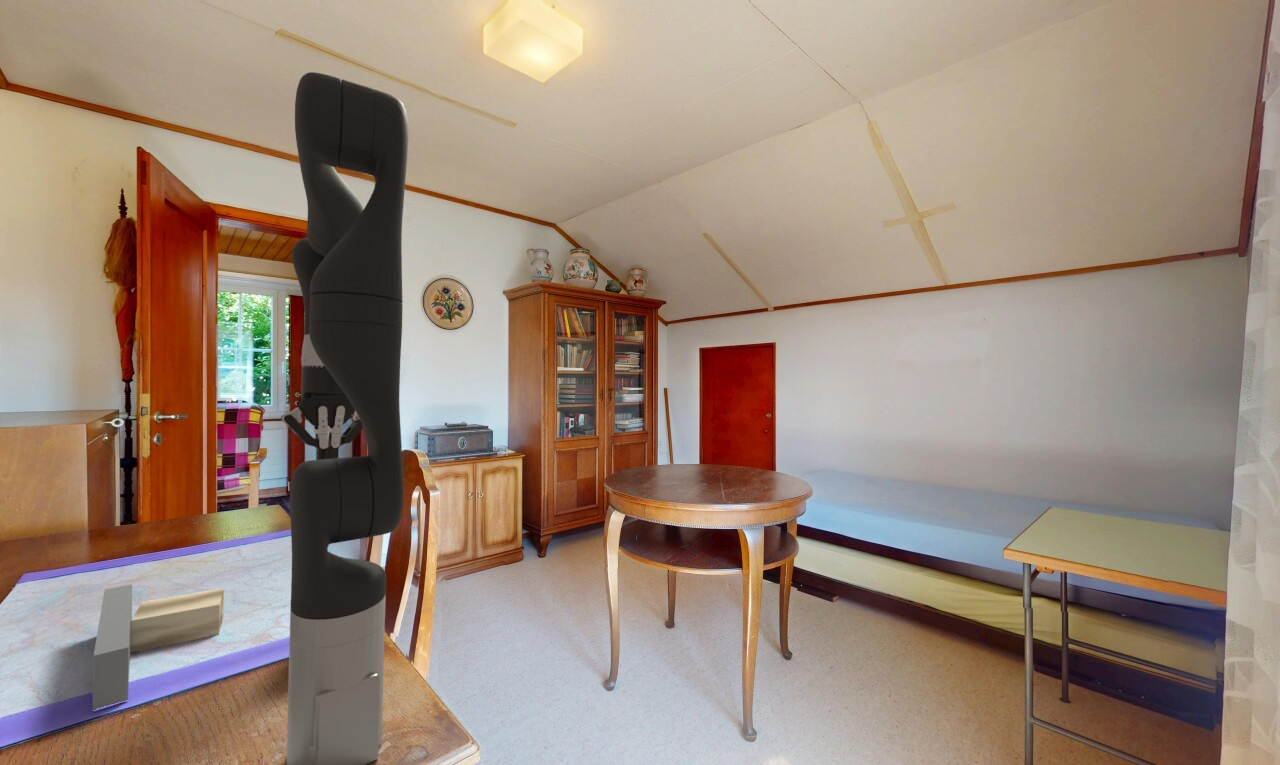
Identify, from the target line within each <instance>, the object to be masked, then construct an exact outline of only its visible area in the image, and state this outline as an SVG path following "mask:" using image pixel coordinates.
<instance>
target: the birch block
mask: <svg viewBox="0 0 1280 765" xmlns="http://www.w3.org/2000/svg"><path fill="white" fill-rule="evenodd" d="M224 607H225V587H221V588H217V589H210V590H203V591H199V592H197V591H196V592H192V593H187V594H179V595H174V596H169V597H161V598H156V599H151V600H149V599H148V600H144V601H141V603H140V605H139V607H138V609H137V610H136V612H135V614H134V615H133V616H132V620H131V646H130V654H132V653H135V652H141V651H145V650H151V649H154V648H159V647H165V646H169V645H174V644H175V645H176V644H179V643H183V642H188V641H193V640H198V639H203V638H208V637H212V636H218V635H220V631H221V628H222V623H223V619H224V613H225V611H224V609H225V608H224Z"/></svg>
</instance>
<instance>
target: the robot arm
mask: <svg viewBox="0 0 1280 765" xmlns="http://www.w3.org/2000/svg"><path fill="white" fill-rule="evenodd" d="M408 120H409V119H408V114H407V111H406V108H405V105H404V103H403V102H402V101H401V100H400V99H399V98H398V97H396V96H394V95H392V94H389V93H387V92H383V91H381V90H378V89H374V88H372V87H368V86H365V85H362V84H360V83H355V82H352V81H348V80H346V79H343V78H342V79H341V78H338V77H336V76H332V75H329V74H325V73H320V72H312V71H311V72H307V73H305V74H303V75H302V77H301V78H300V79H299V81H298V84H297V88H296V94H295V101H294V128H295V129H294V130H295V133H294V134H295V141H296V148H297V154H298V159H299V160H298V161H299V167H300V173H301V177H302V182H303V187H304V190H305V191H304V192H305V195H306V196H305V197H306V203H307V223H306V224H307V225H306V226H307V227H306V235H307V236H306V237H304V238H301V239H300V240H298V241H297V242H296V243H295V244H294V246H293V248H292V251H291V260H292V265H293V268H294V270H295V274H296V277H297V280H298V284H299V287H300V291H301V293H302V300H303V308H304V311H303V312H304V326H303V329H304V330H303V334H304V335H303V342H302V348H301V357H300V362H301V363H300V364H301V385H300V388H301V390H300V391H301V392H300V398H299V400H298V401H297V403H296V407H295V408H294V409H292V410H291V411H290V412H288V413H283V414H282V415H281V417H280V419H281V421H282V422H283V423H284V424H285V425H286V427H288V428H289V430H290V431H292V432H293V433H294V435H296V437H297V438H298V439H300V441H301V442H302V443H303V444H305V445H307V446H311V447H314V448H315V451H316V454H315V456H316V457H315V458H316V459H314V460H313V459H312V460H306V461H304V462H301V463H299V465H298V466H297V467H296V468H295V470H294V472H293V474H292V477H291V481H290V490H289V516H290V518H289V519H290V538H291V582H290V583H291V585H290V587H291V588H290V613H289V614H290V615H289V616H290V617H289V620H290V621H289V644H288V646H289V647H288V648H289V649H288V650H289V652H288V687H287V688H288V692H287V696H288V697H287V725H286V726H287V729H286V730H287V733H286V736H287V737H286V739H287V740H286V742H287V743H286V765H367V764H370V763H372V762H374V761H376V760H378V758H379V748H380V745H381V743H382V739H383V711H384V709H383V708H384V707H383V706H384V705H383V704H384V702H383V701H384V700H383V698H384V670H385V668H384V663H385V662H384V661H385V628H386V624H385V623H386V621H385V620H386V601H387V600H386V598H387V595H386V594H387V575H386V571H385V569H384V568H383V567H382V566H381V565H380V564H377V563H375V562H373V561H370V560H369V561H368V560H363V559H355V558H349V557H343V556H339V555H337V554H335V553H331V552H330V551H328V550H329V549H328V548H329V545H331V544H338V543H342V542H349V541H355V540H362V539H365V538H366V539H367V538H372V537H373V538H374V537H378V536H382V535H387V534H389V533H392V532H394V531H395V530H396V529H397V528H398V526H399V524H400V522H401V519H402V516H403V509H404V500H405V499H404V497H405V494H404V493H405V487H404V486H405V484H404V482H405V481H404V466H403V451H402V450H403V449H402V429H401V410H400V409H401V408H400V386H401V383H400V381H401V355H402V339H403V338H402V336H403V335H402V334H403V267H402V266H403V265H402V264H403V263H402V262H403V261H402V260H403V259H402V257H403V256H402V253H403V252H402V246H403V245H402V237H403V236H402V235H403V234H402V233H403V232H402V231H403V229H402V228H403V215H404V214H403V213H404V203H405V202H404V201H405V190H406V189H405V187H406V178H407V177H406V175H407V163H408V148H409V121H408ZM335 168H338V169H343V170H347V171H352V172H356V173H361V174H365V175H369V176H372V177H373V178H374V188H373V190H372V193H371V195H370V198H369V200H368V201H367V203H366V205H365V206H364V208H363V205H362V203H361V202H360V199H359V198H358V196H357V195H356V194H355V192H354V191H353V190H352V188H350V187H349V185H348V184H347V183H346V181H345V180H344V179H343V178H342V177H341V175H340V174H339V172H337V170H336V169H335ZM301 414H302V415H301ZM302 416H303V417H304V418H305V419H306V421H308V423H309V424H310V425H312V426H313V432H314V437H313V436H312V435H311V433H309V432H308V431H307V430H306V429H305V428H304V426H302V425H301V423H302V422H303V418H302ZM351 417H352V420H353V421H352V422H351V423H350V424H349V426H347V428H346V429H345V431H344V432H343V429H344V425H345V424H346V423H347V422H348V420H349V419H350V418H351ZM362 429H363V431H364V435H365V439H366V445H367V456H366V455H363V456H351V457H350V456H349V457H339V452H340V450H339V449H340V448H341V447H342V445H345V444H350V443H352V441H354V439H355V438H356V437H357V436H358V434H360V432H361V431H362Z"/></svg>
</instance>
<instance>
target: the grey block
mask: <svg viewBox="0 0 1280 765" xmlns="http://www.w3.org/2000/svg"><path fill="white" fill-rule="evenodd" d="M102 598H103V599H102V604H101V610H100V615H99V622H98V629H97V633H96V638H95V639H96V640H95V645H94V650H93V651H94V652H93V656H92V657H93V660H92V661H93V663H92V664H93V666H92V668H93V669H92V670H93V672H92V674H93V675H92V711H93V710H96V709H97V708H101V707H104V706H108V705H111V704H115V703H118V702H122V701H126V700H128V701H129V686H130V685H129V683H130V682H129V679H130V663H131V662H130V661H131V620H132V618H133V613H132V612H133V611H132V610H133V609H132V608H133V584H131V583H130V584H127V585H120V586H116V587H110V588H106V589H104V592H103V597H102Z"/></svg>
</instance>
